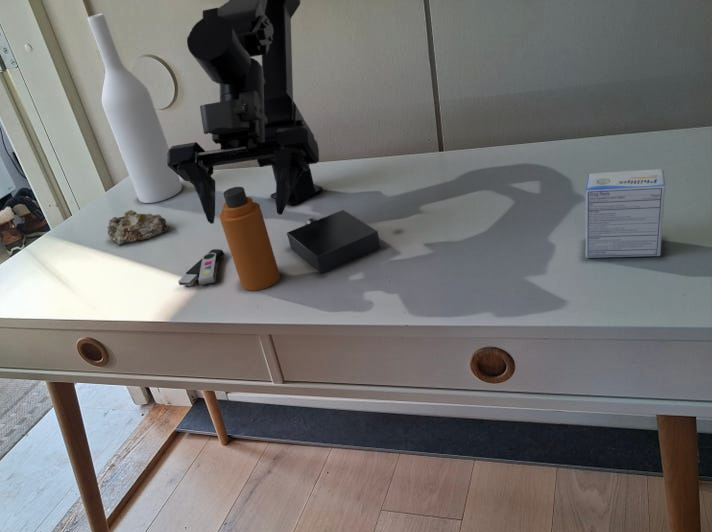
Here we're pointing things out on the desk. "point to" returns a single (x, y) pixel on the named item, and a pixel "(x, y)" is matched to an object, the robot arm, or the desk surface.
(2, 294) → the desk surface
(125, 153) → the bottle
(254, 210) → the amber bottle
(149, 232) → the mineral rock
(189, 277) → the usb flash drive
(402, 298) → the desk surface
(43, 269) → the desk surface
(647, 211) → the medicine box
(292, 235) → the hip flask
